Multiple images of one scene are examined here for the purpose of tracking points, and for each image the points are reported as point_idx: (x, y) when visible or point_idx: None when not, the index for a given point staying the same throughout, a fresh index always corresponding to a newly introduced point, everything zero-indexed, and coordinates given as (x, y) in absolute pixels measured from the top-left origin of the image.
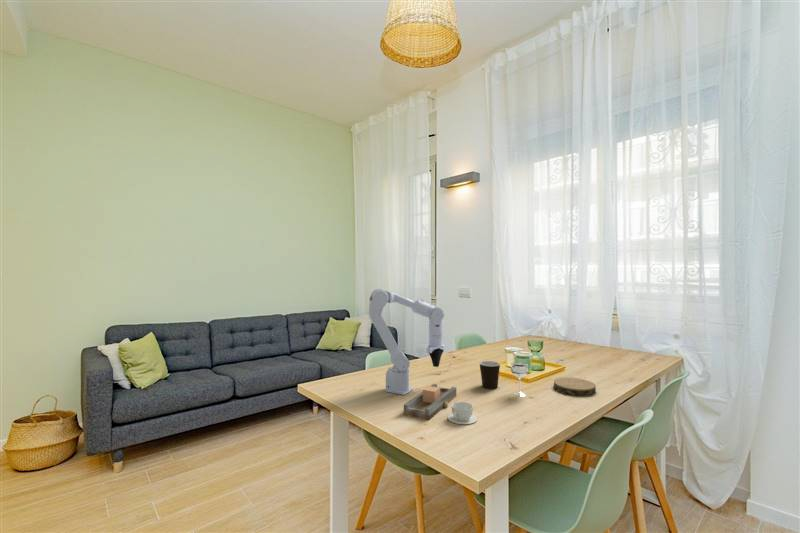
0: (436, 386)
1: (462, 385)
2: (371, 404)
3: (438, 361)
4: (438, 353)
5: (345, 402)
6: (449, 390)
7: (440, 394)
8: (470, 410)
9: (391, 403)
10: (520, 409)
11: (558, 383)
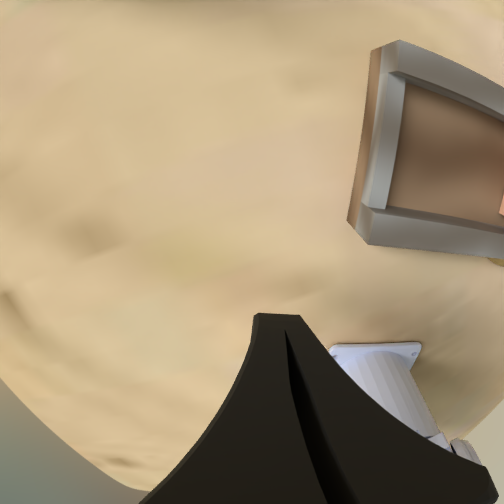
0: (381, 210)
1: (112, 69)
2: (490, 375)
3: (327, 361)
4: (485, 475)
5: (465, 424)
6: (474, 90)
7: (451, 152)
8: None
9: (493, 334)
10: None
11: None
